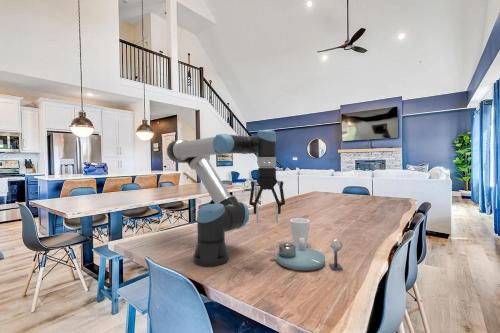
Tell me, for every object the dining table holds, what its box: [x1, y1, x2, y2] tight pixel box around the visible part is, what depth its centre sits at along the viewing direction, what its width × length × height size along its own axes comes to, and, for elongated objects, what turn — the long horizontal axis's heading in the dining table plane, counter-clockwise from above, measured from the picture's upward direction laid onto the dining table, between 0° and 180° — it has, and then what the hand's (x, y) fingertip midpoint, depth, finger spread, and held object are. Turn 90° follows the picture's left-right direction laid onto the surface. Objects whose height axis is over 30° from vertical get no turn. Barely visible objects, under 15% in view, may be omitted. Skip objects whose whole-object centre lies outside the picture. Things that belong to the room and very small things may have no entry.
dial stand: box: [328, 238, 343, 271], centre depth 103 cm, size 4×4×12 cm
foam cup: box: [289, 217, 311, 248], centre depth 128 cm, size 10×9×13 cm
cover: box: [278, 241, 296, 259], centre depth 109 cm, size 7×7×5 cm
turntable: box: [276, 238, 326, 271], centre depth 109 cm, size 20×20×7 cm
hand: (267, 221), depth 109 cm, fingers open, 8 cm apart
